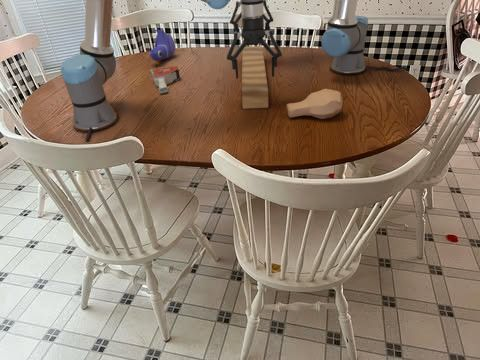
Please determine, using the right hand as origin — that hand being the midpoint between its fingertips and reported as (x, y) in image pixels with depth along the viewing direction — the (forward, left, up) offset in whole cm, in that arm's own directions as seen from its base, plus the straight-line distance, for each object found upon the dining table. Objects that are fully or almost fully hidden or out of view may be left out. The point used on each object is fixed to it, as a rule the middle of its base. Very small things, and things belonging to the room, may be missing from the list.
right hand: (252, 38), depth 171 cm
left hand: (-14, +43, -2) cm, 46 cm away
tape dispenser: (+32, +34, -12) cm, 48 cm away
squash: (-39, +51, -12) cm, 65 cm away
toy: (+50, +3, -12) cm, 51 cm away
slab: (-7, +22, -12) cm, 26 cm away
